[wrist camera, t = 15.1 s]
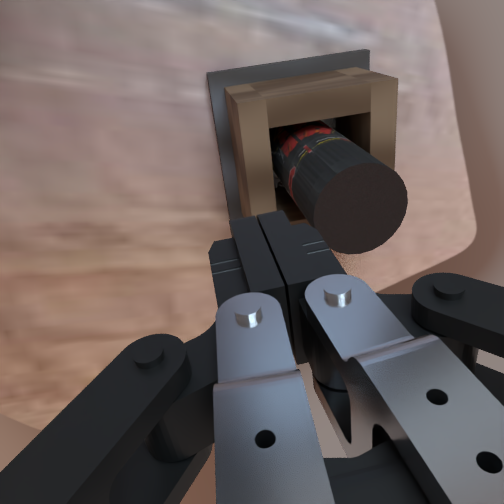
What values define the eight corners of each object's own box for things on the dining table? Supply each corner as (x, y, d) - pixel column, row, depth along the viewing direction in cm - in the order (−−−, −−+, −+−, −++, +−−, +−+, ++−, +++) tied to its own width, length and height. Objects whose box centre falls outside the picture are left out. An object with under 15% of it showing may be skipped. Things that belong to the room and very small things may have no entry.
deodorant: (340, 127, 39) (426, 183, 26) (310, 187, 42) (376, 265, 29) (282, 101, 38) (343, 147, 25) (254, 165, 40) (296, 238, 27)
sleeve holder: (206, 72, 37) (217, 87, 30) (365, 49, 39) (415, 57, 31) (230, 221, 44) (243, 265, 36) (364, 197, 45) (404, 235, 38)
